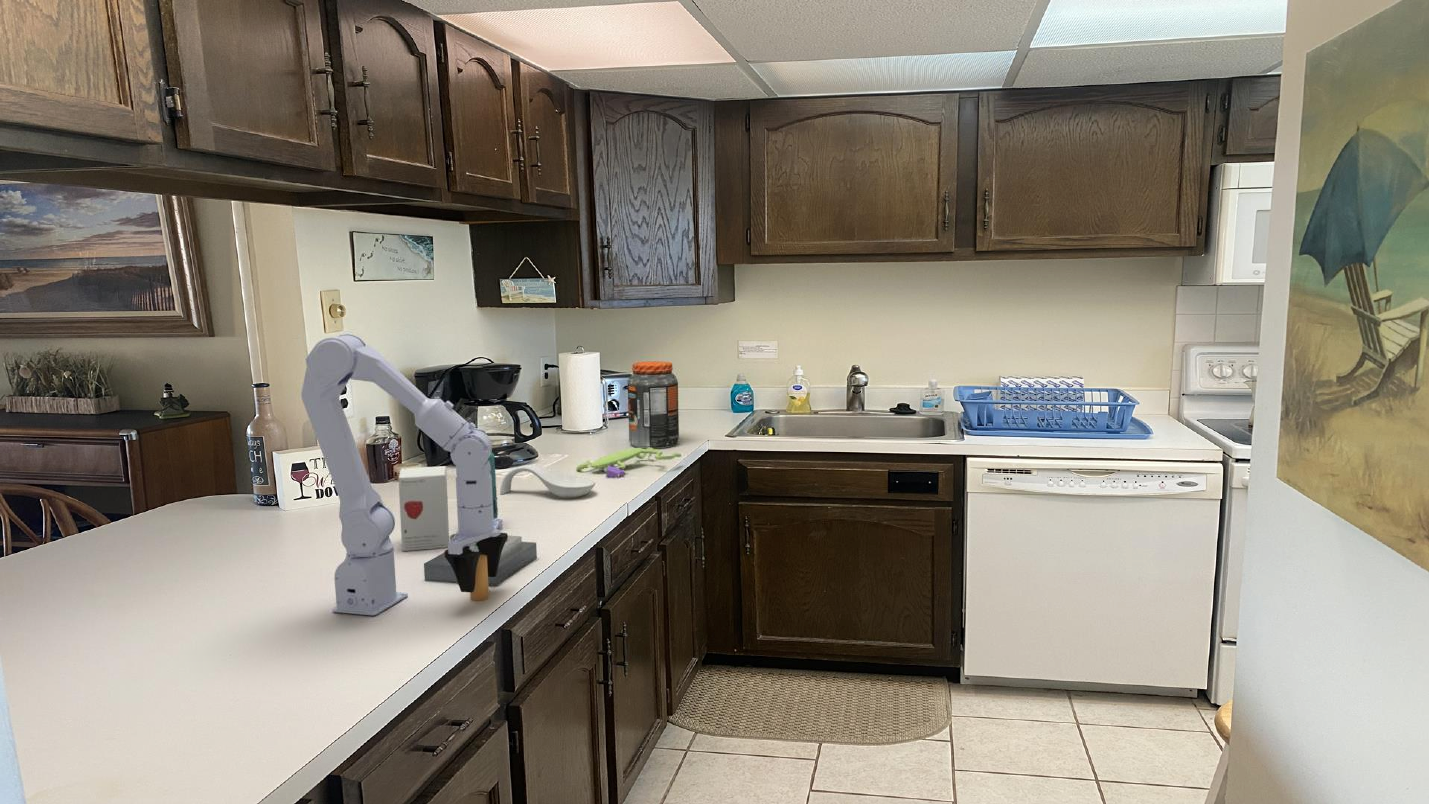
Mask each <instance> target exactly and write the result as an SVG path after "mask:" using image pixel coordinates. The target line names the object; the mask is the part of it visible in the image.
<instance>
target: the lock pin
mask: <svg viewBox="0 0 1429 804" xmlns="http://www.w3.org/2000/svg"><path fill="white" fill-rule="evenodd" d="M489 594H490V590H489V585H488V567H487V556H486V555H481V554H480V557H479V559H478V563H477V568H476V580H475V589H474V592H472V593H470V592H469V596H470V597H469V598H470V600H471V601H473V602H482V601H486V600H488V599H489V597H490V595H489Z"/></svg>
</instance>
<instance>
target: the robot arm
mask: <svg viewBox="0 0 1429 804" xmlns="http://www.w3.org/2000/svg"><path fill="white" fill-rule="evenodd" d="M305 364H306V370H305V372H304V373H305V375H304V378H303V383H302V389H301V395H300V396H301V400H302V403H303V406H304V409H305V411H306V414H307V416H308V418H309V421H310V424H311V426H312V429H313V432H314V434H315V437H316V439H317V443H318V446H319V448H320V450H321V453H322V456H323V458H324V462H325V465H326V467H327V470H328V472H329V475H330V478H331V481H332V482H333V486H334V487H335V490H336V493H337V496H338V498H339V514H338V515H339V516H338V517H339V519H340V523H341V535H340V538H341V543H342V545H343V547H344V548H345V551H346V553H345V554H346V555H345V559H344V561H342V562H341V563H340V564H338V566H337V567H336V569H335V571H334V588H335V589H334V590H335V602H336V603H335V604H336V606H335V607H333V608H332V613H341V614H351V615H352V614H353V615H365V616H377V615H379V614H380V613H382V612H384V611H385V610H387V609H389V608H390V607H391V606H393V605H395V604H397V603H398V602H400V601H402V600H403V599H405V598H407V597H408V596H409V595H408V593H407V592H399V591H397V580H396V566H395V563H396V562H395V552H394V551H395V550H394V549H395V548H394V543H393V542H392V541H391V538H390V535H391V534H392V533H393V532H394V529H395V525H396V519H395V516H394V514H393V512H392V510H391V509H389V507H387V506H386V504H384V502H383V500H382V497H381V495H380V493H378V492H377V491H376V490H375V489H374V488H373V486H372V484H371V481H370V478H369V475H368V474H367V470H366V466H365V465H364V462H363V460H362V456H361V454H360V451H359V448H358V445H357V443H356V441H355V438H354V434H353V432H352V430H351V427H350V423H349V421H348V418H347V416H346V413H345V410H344V408H343V406H342V402H341V400H340V396H341V395H342V393H343V391H344V389H345V388H346V386H347V384H348V383H349V381H350V380H354V381H361V382H369V383H374V384H376V386H377V387H379V388H381V389H382V391H384V392H386V393H387V395H390V396H391V397H392V398H393V399H394V400H396V401H397V402H398V403H400V404H401V405H402V406H404V408H406V409H408V410H409V411H410V412H411V413H412V414H413V417H414V423H415V424H414V425H415V426H416V427H417V428H418V429H420V430H421V431H422V432H423V433H424V434H425V435H427V436H428V437H429V438H430V439H431V440H433V441H434V442H435V443H436V444H437V445H439V447H441V448H442V449H443V450H444V451H445V452H446V451H447V452H450V459H451V461H452V462H453V465H455V472H456V473H455V474H456V477H455V491H456V495H455V496H456V508H457V509H456V512H457V515H456V516H457V529H458V530H457V531H456V533H454V534H455V536H454V537H453V539H452V540H451V541H450V540H449V542H448V548H447V549H445V550H444V552H443V553H444V554H445V558H446V559H447V561H448V562H449V563H450V565H451V567H452V568H453V571H454V573H455V575H456V578H457V581H458V587H459V590H460V592H462V593H469V594H470V593H472V592H474V589H475V580H476V568H477V563H478V559H479V557H480V554H481V555H486V556H487V567H488V577H496V575H497V571H498V566H499V561H500V556H501V552H502V549H503V547H504V544H505V542H506V540H507V539H508V533H507V532H501V531H503V529H504V527H503V526H504V525H503V518H497V519H494V517H493V494H492V476H491V474H490V471H491V466H490V460H488V457H489V456H490V454H491V452H492V450H493V443H492V440H491V438H490V436H489V435H488V434H487V433H486V431H485V430H484V429H481V428H477V425H476V424H475V423H474V422H468V421H467V420H466V419H465V418H464V417H462V416H461V415H460V414H459V413H457V412H456V411H455V410H454V409H453V408H454V405H455V404H453V403H452V402H451V401H450V400H447V401H446V402H444V400H443V399H441V398H428V397H427V396H426V395H425V394H424V393H423V392H422V391H421V390H419V389H418V388H417V387H416V386H415V384H413V383H412V381H410V380H409V379H408V378H407V377H406V376H404V375H403V374H402V372H400V371H399V370H398V369H397V368H396V367H395V366H394V365H393V364H392V363H391V362H389V360H387V359H386V357H385V356H384V355H382V354H381V353H380V351H378V350H377V349H376V348H375V347H373V346H372V345H369V344H368V345H367V344H366V343H365V341H364V340H363V339H362V338H361V337H359V336H357V335H355V334H351V333H346V334H340V335H338V336H336V337H333V336H331V337H326V338H323V339H321V340H320V341H318V342H317V343H316V344H315V345H314V347H313V348H312V350H310V352H309V354H308V355H307V357H305ZM475 543H476V545H477V547H478V551H479V552H475V551H472V550H471V549H470V546H471V545H473V544H475Z"/></svg>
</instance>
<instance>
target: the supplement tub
mask: <svg viewBox="0 0 1429 804" xmlns="http://www.w3.org/2000/svg"><path fill="white" fill-rule="evenodd" d="M673 370H674V367H673V363H672V362H669V361H638V362H634V363H632V370H631V371H632V374H631V375H630V376H629V378H628V380H627V406H628V440H629V443H630V445H632V446H633V447H634V448H642V449H647V448H649V447H650V448H653V450H657V449H664V448H670V447H674V446H676V445H678V443H679V440H680V430H679V429H680V427H679V426H680V425H679V424H680V421H679V419H680V418H679V416H680V415H679V381H678V379H677V376H676V375H675V374H674V373H673Z"/></svg>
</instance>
